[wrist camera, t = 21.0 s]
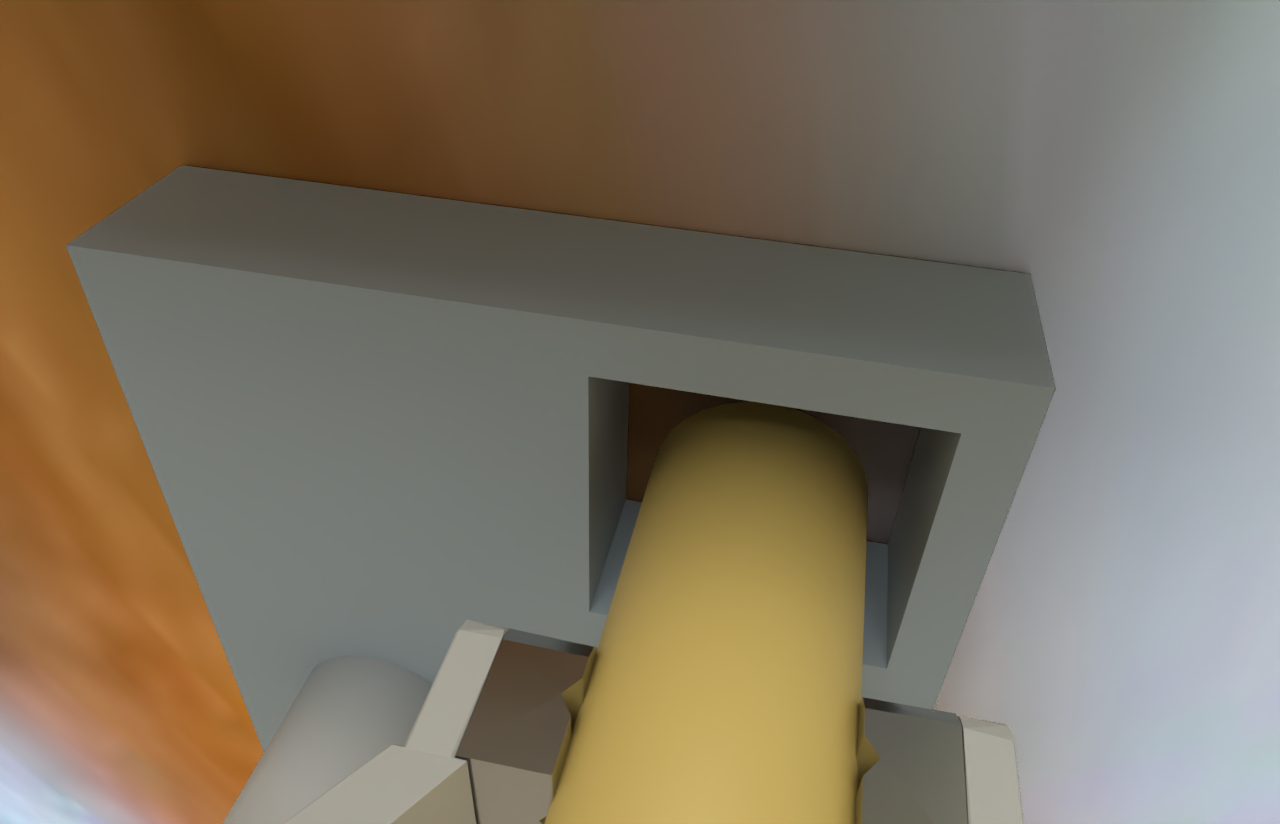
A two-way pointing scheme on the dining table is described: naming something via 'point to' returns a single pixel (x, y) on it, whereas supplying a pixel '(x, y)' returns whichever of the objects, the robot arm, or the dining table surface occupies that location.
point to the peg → (731, 634)
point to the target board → (510, 426)
